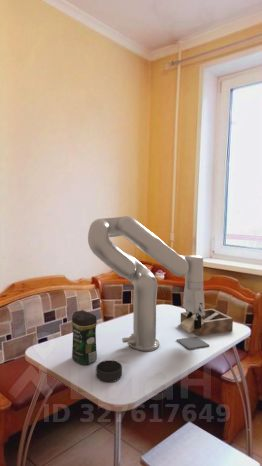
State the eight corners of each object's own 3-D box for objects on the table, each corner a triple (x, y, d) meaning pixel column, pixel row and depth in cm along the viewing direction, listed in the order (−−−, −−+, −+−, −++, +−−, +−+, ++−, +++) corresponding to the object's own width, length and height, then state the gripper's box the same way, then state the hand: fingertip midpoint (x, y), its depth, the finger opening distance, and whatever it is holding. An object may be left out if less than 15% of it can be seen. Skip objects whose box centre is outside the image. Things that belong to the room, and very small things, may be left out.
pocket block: (198, 336, 149) (198, 323, 148) (180, 324, 164) (180, 312, 163) (232, 330, 156) (232, 318, 155) (212, 319, 171) (212, 308, 170)
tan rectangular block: (189, 332, 136) (186, 326, 136) (182, 328, 141) (180, 322, 140) (204, 323, 139) (201, 317, 138) (197, 319, 144) (195, 313, 143)
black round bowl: (127, 376, 113) (127, 365, 113) (107, 386, 107) (107, 374, 106) (110, 367, 119) (110, 357, 119) (90, 376, 113) (90, 365, 113)
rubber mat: (188, 349, 134) (188, 348, 134) (176, 340, 143) (176, 339, 143) (209, 346, 138) (209, 344, 138) (196, 337, 147) (196, 336, 147)
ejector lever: (197, 331, 154) (196, 329, 154) (190, 327, 160) (189, 325, 160) (221, 315, 159) (221, 314, 159) (214, 312, 165) (213, 310, 164)
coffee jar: (68, 358, 126) (68, 311, 125) (86, 352, 131) (85, 307, 130) (82, 367, 119) (82, 317, 117) (100, 361, 124) (100, 313, 122)
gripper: (176, 281, 145) (176, 321, 147) (197, 290, 129) (197, 334, 131) (190, 279, 148) (190, 319, 149) (213, 288, 132) (213, 331, 134)
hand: (194, 325), depth 140 cm, fingers closed on tan rectangular block, 4 cm apart
